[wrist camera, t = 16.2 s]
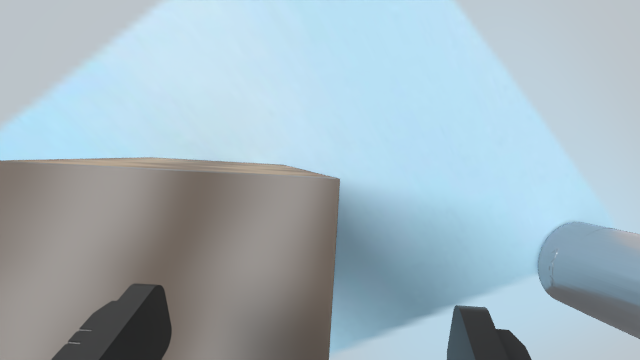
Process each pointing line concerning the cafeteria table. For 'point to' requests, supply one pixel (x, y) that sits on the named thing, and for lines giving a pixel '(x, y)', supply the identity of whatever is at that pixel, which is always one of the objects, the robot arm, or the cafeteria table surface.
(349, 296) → the cafeteria table surface
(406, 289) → the cafeteria table surface
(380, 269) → the cafeteria table surface
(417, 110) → the cafeteria table surface
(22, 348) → the awning socket
